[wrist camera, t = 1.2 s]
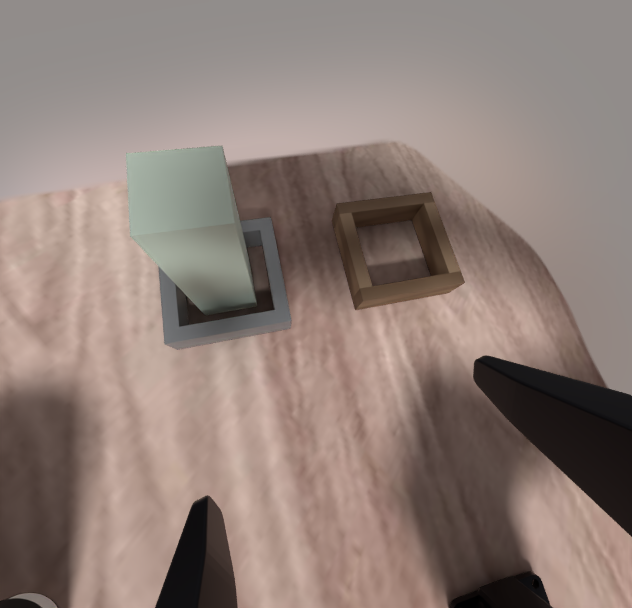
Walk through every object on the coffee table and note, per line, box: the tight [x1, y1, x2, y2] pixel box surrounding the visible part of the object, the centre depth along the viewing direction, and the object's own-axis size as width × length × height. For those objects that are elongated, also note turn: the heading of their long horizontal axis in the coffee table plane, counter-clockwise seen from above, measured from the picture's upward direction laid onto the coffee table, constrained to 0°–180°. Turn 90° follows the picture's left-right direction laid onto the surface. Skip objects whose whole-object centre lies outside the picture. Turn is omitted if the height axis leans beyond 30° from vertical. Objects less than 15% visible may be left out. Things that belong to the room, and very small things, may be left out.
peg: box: [126, 146, 257, 315], centre depth 18 cm, size 4×4×12 cm
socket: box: [159, 217, 291, 350], centre depth 23 cm, size 8×8×2 cm
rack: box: [332, 192, 465, 310], centre depth 25 cm, size 8×8×2 cm
